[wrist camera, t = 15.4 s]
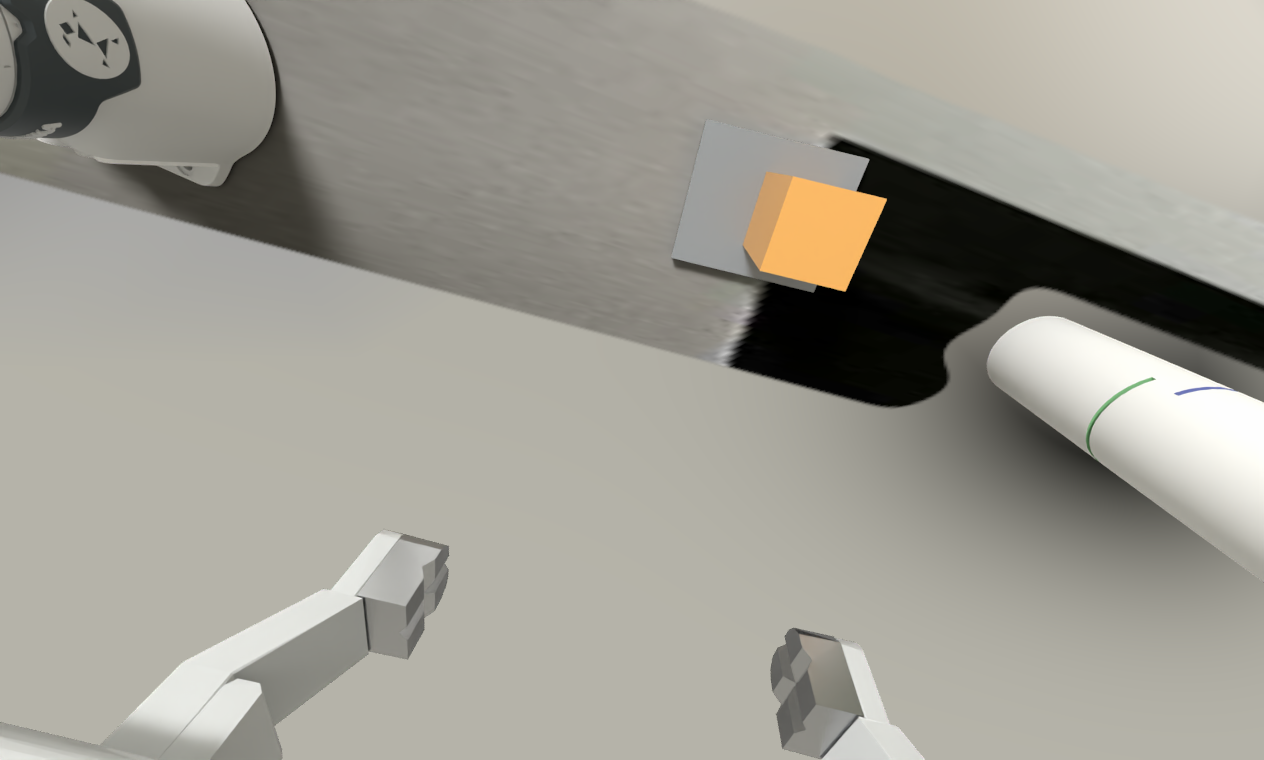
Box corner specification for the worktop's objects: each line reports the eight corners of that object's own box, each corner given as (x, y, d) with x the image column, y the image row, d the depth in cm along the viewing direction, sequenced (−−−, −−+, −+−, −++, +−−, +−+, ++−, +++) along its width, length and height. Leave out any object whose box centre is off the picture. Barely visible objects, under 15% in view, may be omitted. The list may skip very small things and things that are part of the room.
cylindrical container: (1078, 383, 38) (1621, 695, 16) (985, 400, 40) (1363, 706, 18) (1088, 306, 35) (1767, 556, 13) (987, 328, 37) (1442, 584, 15)
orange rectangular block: (742, 244, 35) (759, 270, 27) (766, 171, 33) (793, 176, 25) (808, 260, 35) (845, 291, 27) (837, 188, 33) (887, 198, 25)
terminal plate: (671, 255, 37) (671, 257, 36) (705, 120, 32) (706, 119, 32) (810, 289, 37) (813, 292, 36) (864, 159, 33) (869, 159, 32)
